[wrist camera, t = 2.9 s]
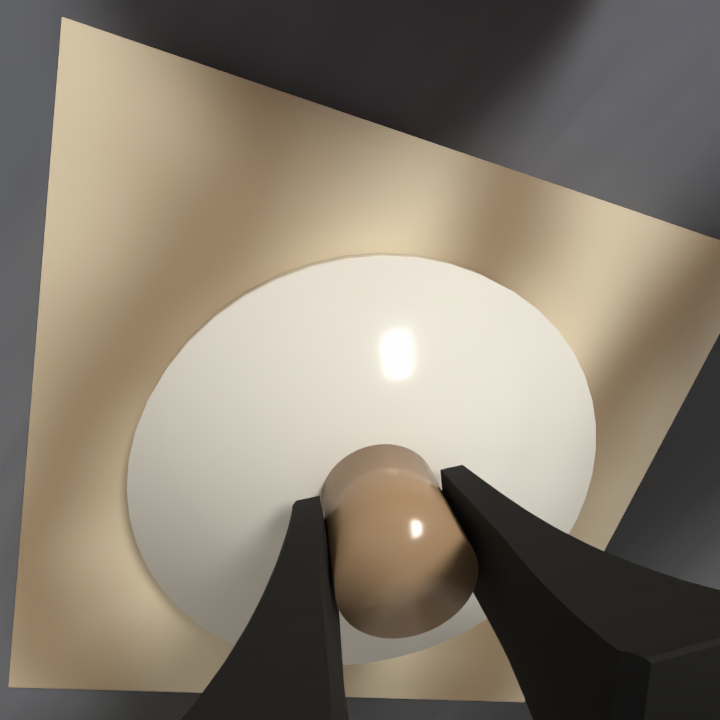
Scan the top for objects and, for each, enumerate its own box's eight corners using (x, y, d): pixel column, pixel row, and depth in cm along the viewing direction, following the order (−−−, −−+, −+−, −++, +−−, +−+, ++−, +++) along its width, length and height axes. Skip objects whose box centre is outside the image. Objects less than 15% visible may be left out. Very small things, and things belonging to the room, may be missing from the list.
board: (731, 249, 15) (761, 254, 14) (512, 678, 20) (523, 701, 19) (80, 29, 10) (62, 17, 9) (23, 656, 16) (8, 687, 15)
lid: (651, 316, 14) (786, 369, 10) (491, 651, 18) (548, 775, 14) (175, 188, 11) (126, 198, 7) (108, 631, 15) (55, 784, 11)
